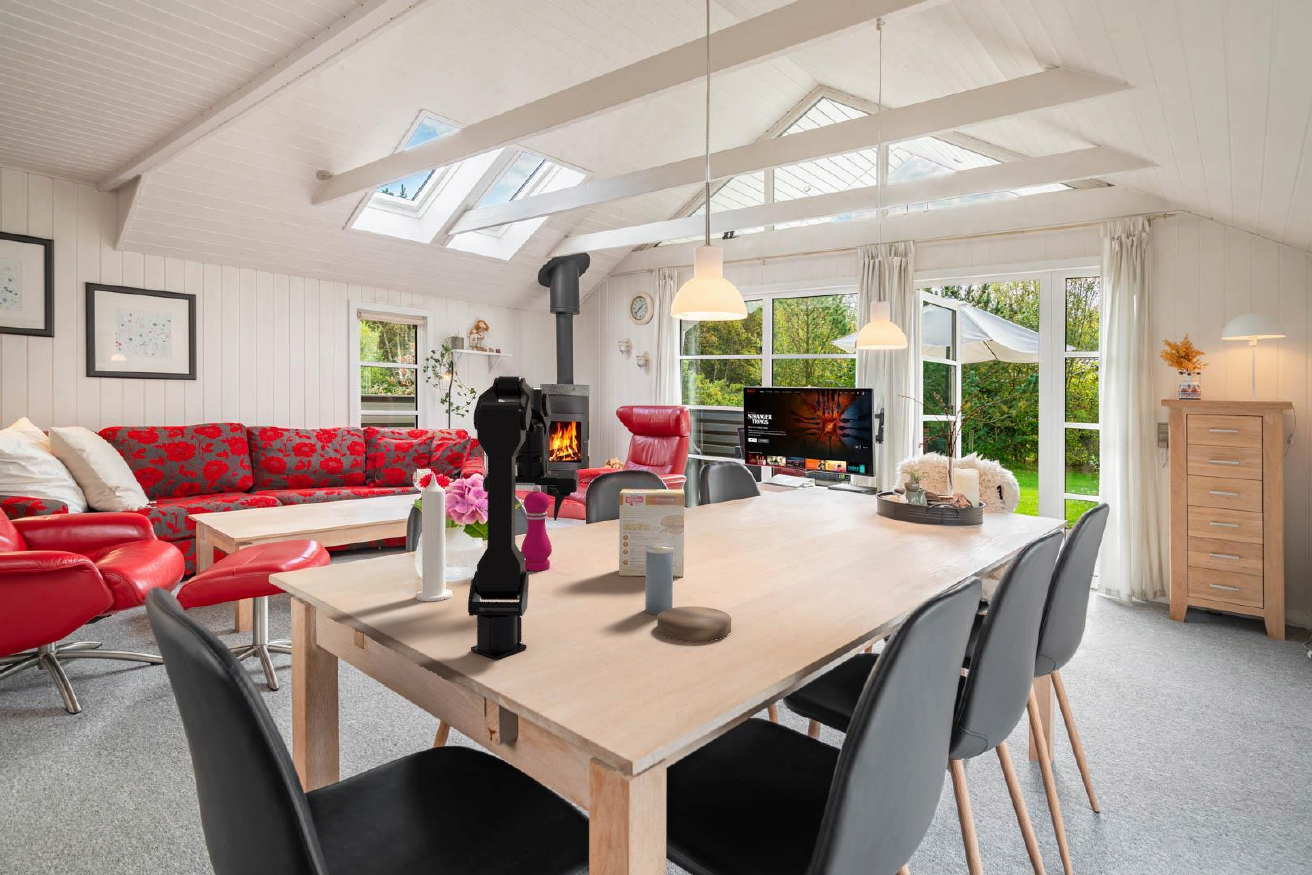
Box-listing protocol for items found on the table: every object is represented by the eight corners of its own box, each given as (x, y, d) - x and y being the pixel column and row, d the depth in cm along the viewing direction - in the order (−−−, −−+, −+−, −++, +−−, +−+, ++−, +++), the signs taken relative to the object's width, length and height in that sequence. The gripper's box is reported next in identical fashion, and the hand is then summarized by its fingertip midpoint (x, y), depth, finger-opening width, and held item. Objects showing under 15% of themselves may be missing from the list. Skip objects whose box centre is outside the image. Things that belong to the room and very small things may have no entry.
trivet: (704, 649, 115) (705, 634, 115) (642, 632, 123) (642, 618, 123) (744, 629, 126) (744, 615, 125) (684, 615, 133) (685, 602, 133)
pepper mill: (545, 572, 164) (545, 487, 163) (516, 570, 165) (516, 486, 164) (556, 565, 171) (556, 483, 170) (527, 564, 172) (528, 482, 171)
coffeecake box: (683, 570, 168) (684, 488, 167) (683, 577, 161) (685, 492, 160) (621, 568, 168) (622, 487, 167) (618, 576, 161) (619, 491, 160)
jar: (661, 616, 131) (662, 550, 131) (639, 611, 134) (640, 546, 134) (678, 610, 135) (678, 546, 135) (656, 605, 139) (656, 542, 138)
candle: (408, 598, 141) (407, 474, 140) (434, 590, 147) (433, 471, 146) (434, 603, 138) (433, 476, 137) (459, 594, 144) (459, 473, 143)
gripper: (580, 436, 149) (581, 504, 154) (492, 435, 149) (496, 503, 153) (575, 454, 138) (576, 526, 143) (480, 453, 138) (484, 525, 143)
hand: (533, 519), depth 146 cm, fingers open, 9 cm apart
